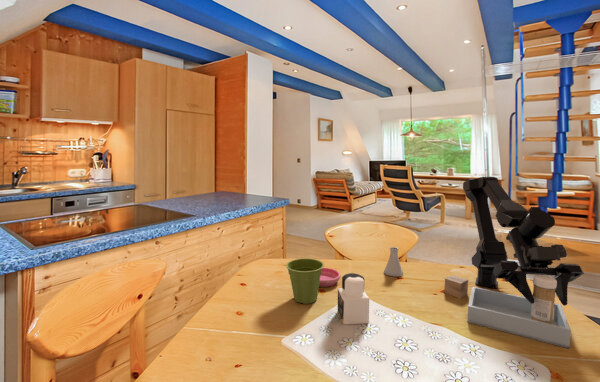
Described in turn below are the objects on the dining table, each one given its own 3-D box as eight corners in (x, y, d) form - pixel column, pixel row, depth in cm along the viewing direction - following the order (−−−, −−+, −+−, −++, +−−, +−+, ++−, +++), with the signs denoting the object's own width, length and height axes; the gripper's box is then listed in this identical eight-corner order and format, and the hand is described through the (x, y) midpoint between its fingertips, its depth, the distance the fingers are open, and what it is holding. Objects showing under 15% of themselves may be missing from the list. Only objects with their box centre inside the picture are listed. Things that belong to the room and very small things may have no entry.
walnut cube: (451, 289, 101) (452, 274, 100) (467, 294, 97) (468, 279, 96) (444, 293, 98) (444, 278, 97) (459, 298, 94) (460, 283, 93)
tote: (471, 300, 92) (472, 286, 92) (559, 320, 81) (560, 304, 81) (467, 321, 80) (468, 306, 80) (569, 348, 69) (571, 330, 68)
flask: (404, 277, 110) (405, 251, 109) (384, 276, 112) (384, 250, 110) (402, 270, 117) (402, 245, 116) (382, 269, 119) (383, 244, 118)
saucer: (313, 272, 116) (313, 265, 115) (344, 278, 111) (344, 269, 110) (300, 285, 105) (300, 276, 104) (334, 291, 99) (334, 282, 99)
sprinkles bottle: (556, 331, 75) (560, 279, 73) (546, 336, 73) (551, 282, 71) (535, 322, 79) (539, 273, 78) (525, 326, 77) (529, 276, 76)
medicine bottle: (337, 311, 86) (337, 271, 85) (361, 310, 87) (362, 270, 85) (342, 325, 79) (343, 281, 78) (369, 323, 80) (370, 280, 78)
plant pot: (304, 287, 102) (304, 255, 101) (331, 298, 94) (331, 264, 93) (278, 298, 94) (278, 264, 93) (305, 312, 86) (305, 274, 84)
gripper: (501, 230, 78) (522, 289, 69) (582, 233, 75) (615, 294, 66) (485, 250, 87) (502, 305, 77) (557, 253, 84) (584, 310, 74)
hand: (549, 304), depth 73 cm, fingers open, 7 cm apart
